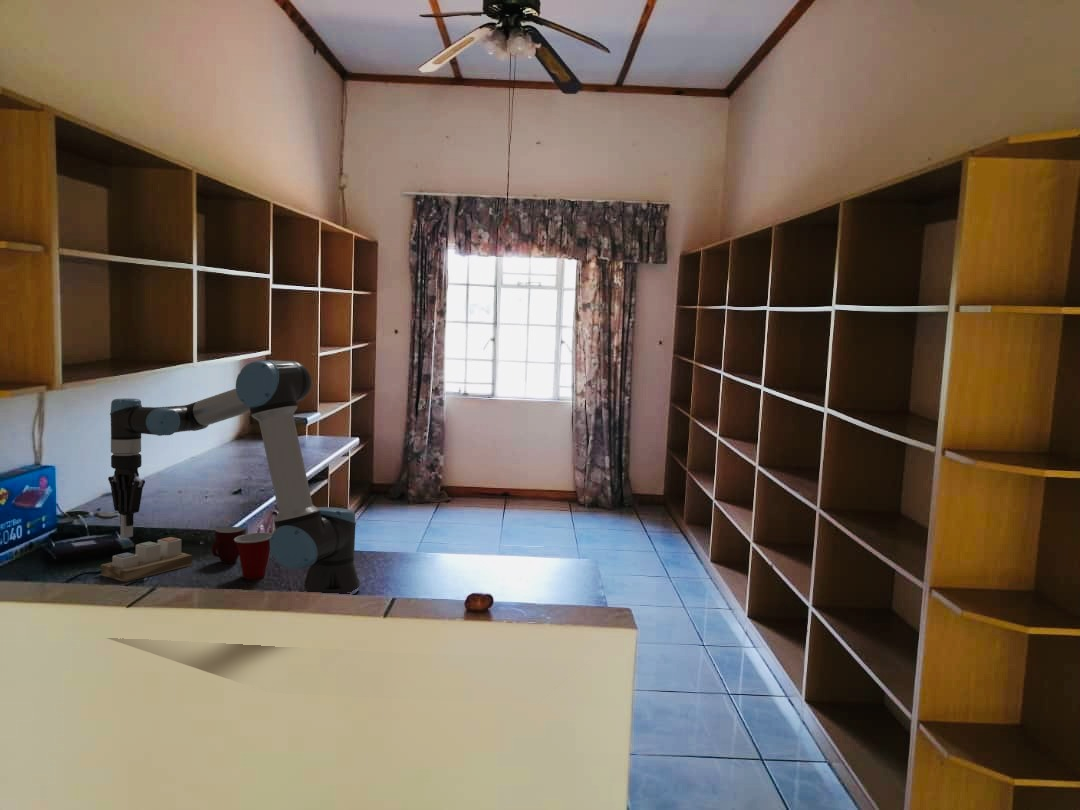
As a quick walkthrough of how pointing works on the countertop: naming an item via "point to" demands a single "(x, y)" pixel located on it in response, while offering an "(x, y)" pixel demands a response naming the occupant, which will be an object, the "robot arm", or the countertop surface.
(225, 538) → the mug
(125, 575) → the keypad board
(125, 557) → the off-white cube
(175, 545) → the beige cube
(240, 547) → the plastic cup
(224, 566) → the countertop surface
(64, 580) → the countertop surface
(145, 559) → the beige wooden cube
